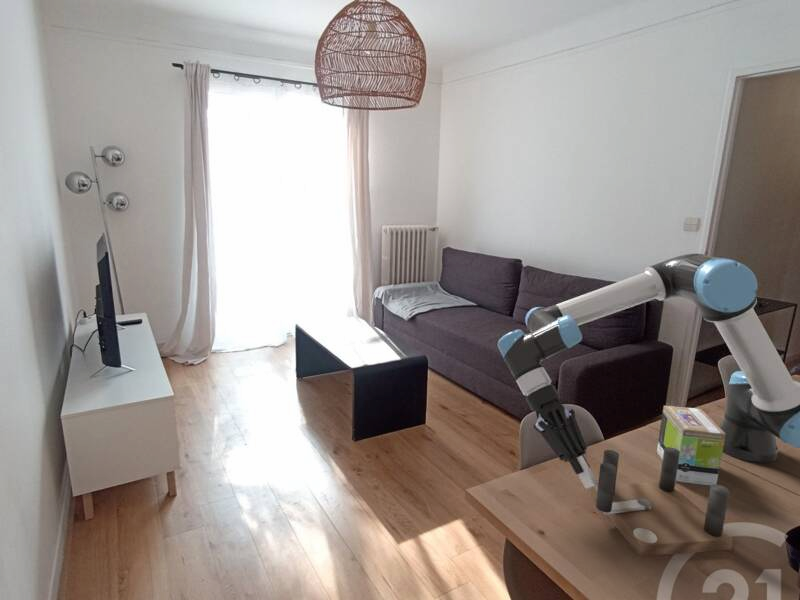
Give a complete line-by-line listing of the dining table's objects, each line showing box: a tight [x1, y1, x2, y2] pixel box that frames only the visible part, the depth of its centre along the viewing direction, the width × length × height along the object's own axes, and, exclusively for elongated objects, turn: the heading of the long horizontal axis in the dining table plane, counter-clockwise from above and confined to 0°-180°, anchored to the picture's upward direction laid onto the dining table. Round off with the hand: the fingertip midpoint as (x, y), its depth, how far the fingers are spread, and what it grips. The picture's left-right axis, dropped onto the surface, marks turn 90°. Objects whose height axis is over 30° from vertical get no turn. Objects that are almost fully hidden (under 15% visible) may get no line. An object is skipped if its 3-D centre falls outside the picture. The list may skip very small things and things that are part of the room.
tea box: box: [656, 405, 725, 487], centre depth 125 cm, size 15×10×15 cm, turn 168°
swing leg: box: [595, 462, 651, 516], centre depth 104 cm, size 13×3×11 cm, turn 101°
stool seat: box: [590, 447, 734, 557], centre depth 104 cm, size 20×20×12 cm
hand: (591, 486), depth 105 cm, fingers closed
